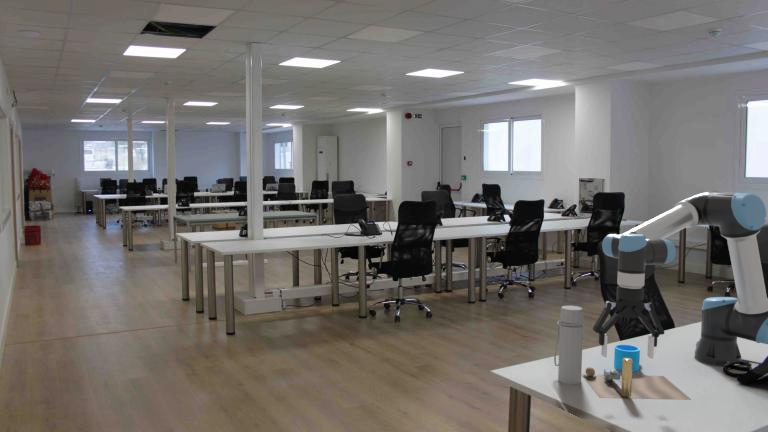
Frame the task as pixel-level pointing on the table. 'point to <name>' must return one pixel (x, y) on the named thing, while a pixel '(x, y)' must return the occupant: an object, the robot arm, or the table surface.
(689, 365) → the table surface
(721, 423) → the table surface
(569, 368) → the water bottle
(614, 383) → the lever
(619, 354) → the mug
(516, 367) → the table surface
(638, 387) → the nutcracker base
